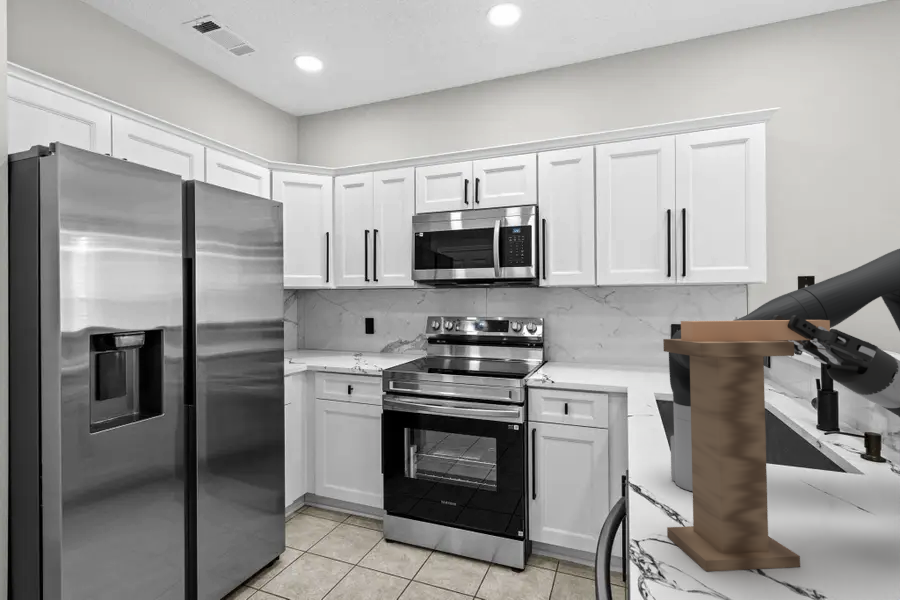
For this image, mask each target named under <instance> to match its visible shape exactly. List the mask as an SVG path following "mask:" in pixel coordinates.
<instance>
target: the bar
mask: <svg viewBox="0 0 900 600" xmlns="http://www.w3.org/2000/svg"><path fill="white" fill-rule="evenodd" d="M806 321H808V322H810V323H811V324H813V325H815V326H816V327H817V326H820V327H824V328H825V329H827V330H828V331H830V329H831V328H830V320H806ZM788 323H789V320H753V321H733V320H681V321H680V330H681V340H683V341H693V342H694V341H774V340H810V339H811V338H810V339H806V338H804V337H803V336H801V335H799V334H797V333H796V332H794V331H792V330H791V329H789V328H788V326H787V325H788Z"/></svg>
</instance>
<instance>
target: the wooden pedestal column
mask: <svg viewBox="0 0 900 600" xmlns="http://www.w3.org/2000/svg"><path fill="white" fill-rule="evenodd" d="M662 339H663V352H666V353H669V352H671V353H677V354H684V355H690V395H691V441H692V486H693V491H692V519H693V520H692V522H693V523H692V524H693V525H692V526H691V525H690V526H669V527H668V526H667V527H666V528H667V529H666V530H667V531H666V534H667V535H666V536H667V538H668V539H669V540H670V541H671V542H673V543H674V544H675V545H676V546H677V547H678V548H679V549H681V551H683V552H684V553H685V554H686V555H688V557H689V558H690V559H692V560H693V561H694V562H695V563H696V564H697V565H698V566H699V567H700V568H702V569H703V570H704V571H705V572H723V571H725V572H727V571H739V570H740V571H743V570H744V571H745V570H762V569H763V570H765V569H780V568H781V569H782V568H783V569H784V568H785V569H786V568H800V567H801V556H800V555H799V554H797V553H796V552H794V551H792V550H791V549H790V548H788V547H786V546H785V545H784V544H781V543H780V542H778V541H777V540H775V539H774V538H773V537H771V536H769V521H768V519H769V518H768V516H769V515H768V488H767V487H768V478H767V477H768V475H767V442H766V441H767V440H766V439H767V437H766V436H767V435H766V405H765V404H766V403H765V402H766V401H765V371H764V370H765V367H764V365H765V363H764V357H794V356H795V353H794V342H788V341H775V340H774V341H694V342H693V341H683V340H681V339H671V338H662Z"/></svg>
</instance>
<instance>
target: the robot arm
mask: <svg viewBox="0 0 900 600" xmlns="http://www.w3.org/2000/svg"><path fill="white" fill-rule="evenodd" d="M879 298H881V299H882V301H883V303H884V305H885V306H886V307H887V309H888V312H889V313H890V314H891V317H892V319H893V321H894V323H895V325H896V327H897V329H898V331H899V332H900V248H898V249H895V250H893V251H890V252H887V253H885V254H883V255H881V256H879V257H877V258H875V259H873V260H870V261H869V262H867V263H864V264H863V265H861V266H858V267H856V268H853V269H851V270H849V271H846V272H844V273H841V274H838V275H835V276H832V277H829V278H827V279H824V280H822V281H820V282H817V283H816V282H815V283H814V284H811V285H807V286H805V287H802V288H799V289H796V290H793V291H791V292H787V293H784V294H781V295H779V296H777V297H775V298H773V299H771V300H769V301H767V302H765V303H763V304H762V305H760V306H759V307H757V308H755V309H753V310H752V311H751V312H750V313H748V314H746V315H744V316H741V317H738V318H736V319H733V320H732V321H753V320H789V323H788V325H787V326H788V328H789V329H791V330H792V331H794V332H796V333H797V334H799V335H801V336H803V337H804V338H806V339H810V338H811V339H810V340H775V341H788V342H794V355H796V356H802V354H803V353H805V354H806V355H809V356H811V357H812V358H813V359H814V360H815V361H817V362H819V363H822V364H824V365H826V366H825V367H826V371H827V372H826V373H827V374H828V376H829V377H830V378H831V379H832V380H834V382H837V383H838V384H840V385H842V386H843V387H846V388H847V389H848V390H850V391H852V392H853V393H855V394H857V395H859V396H861V397H862V398H864V399H865V400H867V401H869V402H871V403H874V404H877V405H879V406H881V407H883V408H884V409H886V410H888V411H889V412H891V413H892V414H895V415H896V416H898V418H900V360H899V359H897V357H895V356H892V355H891V354H889V353H888V352H886V351H884V350H882V349H881V348H879V346H877V345H875V344H872V343H871V342H868V341H866V340H864V339H860V338H858V337H855V336H853V335H850V334H848V333H845V332H843V331H841V330H838V329H836V328H834V327H836V326H838V325H839V324H842V322H843V321H846V320H847V319H848V318H850V317H852V316H853V315H855V314H856V313H857V312H859V311H860V310H862V309H863V308H864V307H866V306H867V305H868V304H870V303H872V302H874V301H875V300H876V299H879ZM806 320H830V331H828V330H827V329H825V328H824V327H820V326H817V327H816V326H815V325H813V324H811V323H810V322H808V321H806ZM670 339H681V329H679V330H676V332H674V334H673V335H672V336H671V338H670ZM668 368H669V370H668V372H669V383H670V388H671V389H670V390H671V392H672V396H673V398H672V400H673V435H671V436H670V474H671V475H670V476H671V477H670V478H671V480H672V481H673V482H674V483H675V484H676V485H677V486H678V487H679V488H681V489H683V490H686V491H690V492H693V486H692V441H691V395H690V355H684V354H677V353H671V352H668Z"/></svg>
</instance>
